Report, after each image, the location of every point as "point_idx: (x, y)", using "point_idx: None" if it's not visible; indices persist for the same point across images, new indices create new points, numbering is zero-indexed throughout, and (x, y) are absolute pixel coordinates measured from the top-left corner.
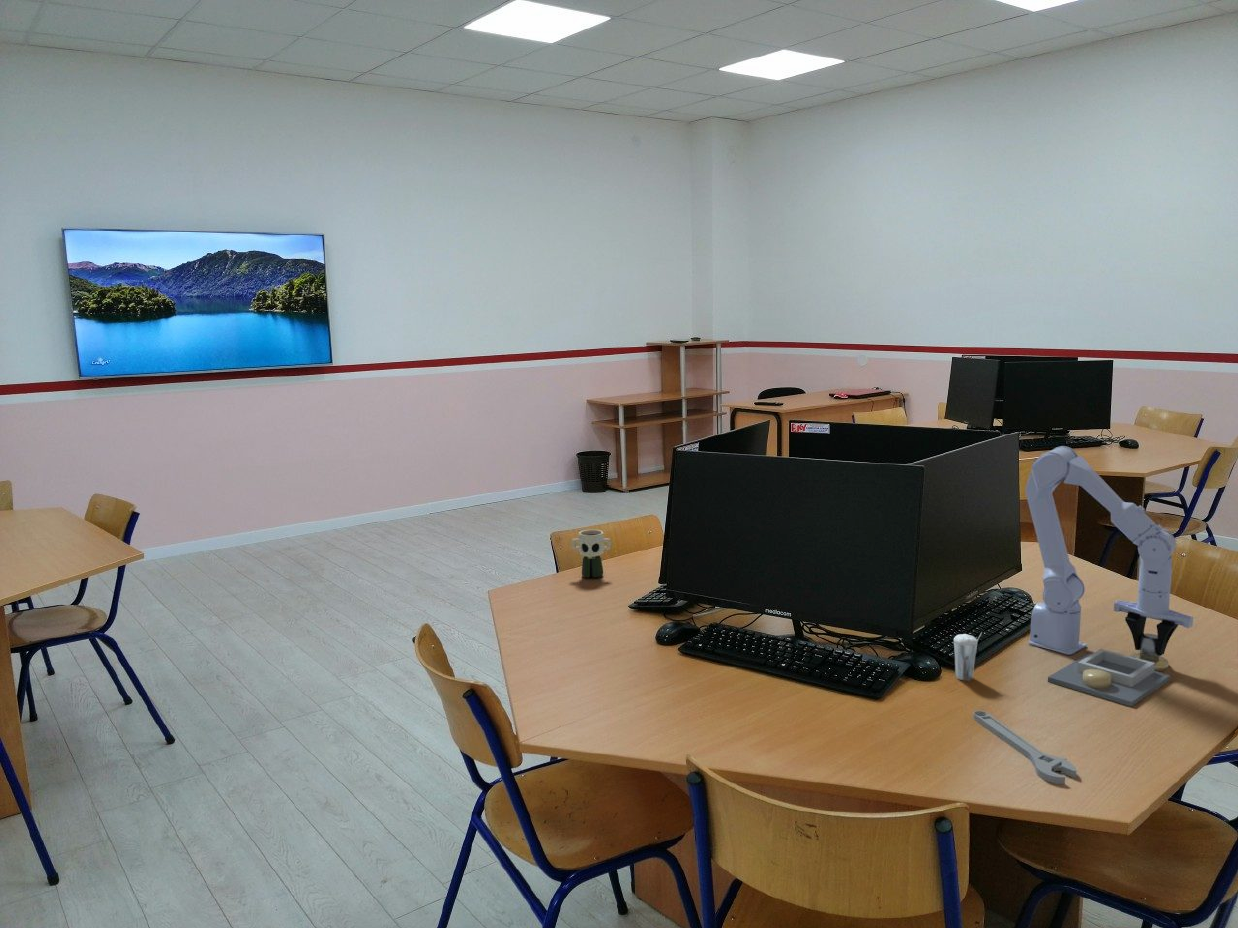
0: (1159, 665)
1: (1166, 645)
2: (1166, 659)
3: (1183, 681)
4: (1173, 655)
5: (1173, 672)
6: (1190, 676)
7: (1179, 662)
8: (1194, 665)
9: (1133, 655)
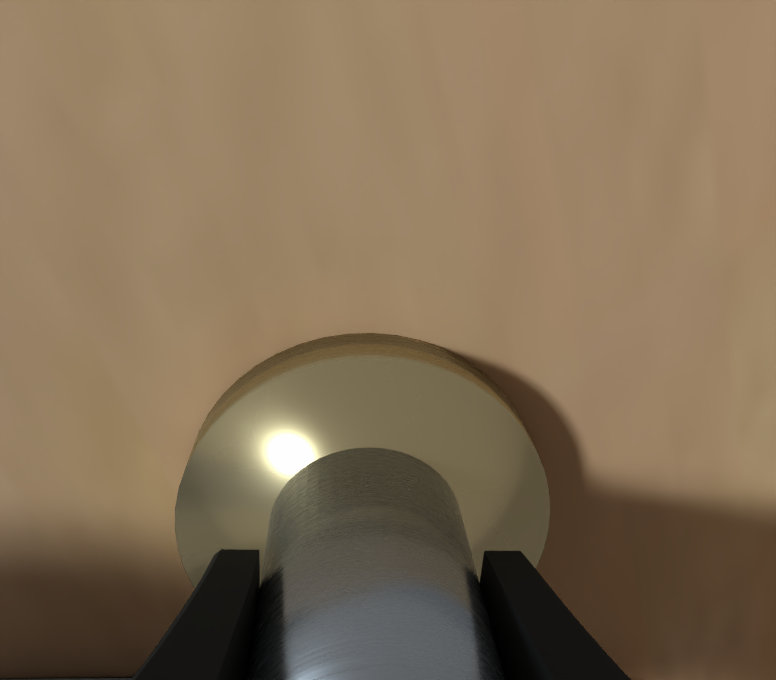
0: None
1: (573, 618)
2: (510, 413)
3: (698, 633)
4: (486, 18)
5: (597, 517)
6: (736, 507)
7: (595, 221)
8: (746, 201)
9: (203, 535)
